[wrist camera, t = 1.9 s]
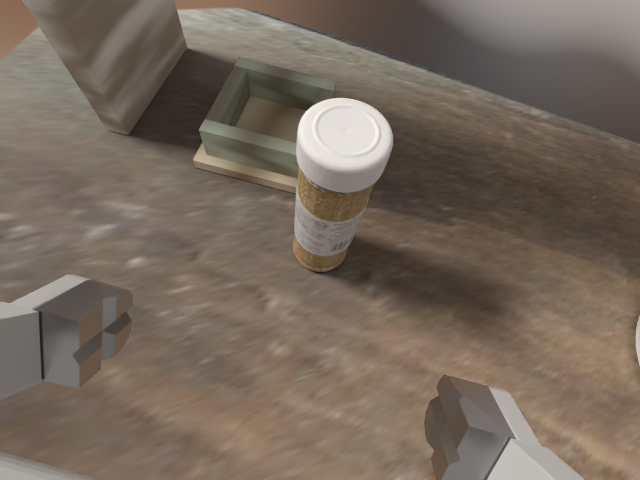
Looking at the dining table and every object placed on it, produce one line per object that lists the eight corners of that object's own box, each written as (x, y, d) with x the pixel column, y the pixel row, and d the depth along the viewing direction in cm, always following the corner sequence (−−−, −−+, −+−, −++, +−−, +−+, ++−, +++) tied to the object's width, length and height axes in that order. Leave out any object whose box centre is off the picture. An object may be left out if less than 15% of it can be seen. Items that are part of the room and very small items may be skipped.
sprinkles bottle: (333, 217, 29) (369, 85, 17) (355, 263, 27) (413, 154, 15) (283, 233, 28) (283, 104, 16) (303, 282, 26) (320, 181, 14)
